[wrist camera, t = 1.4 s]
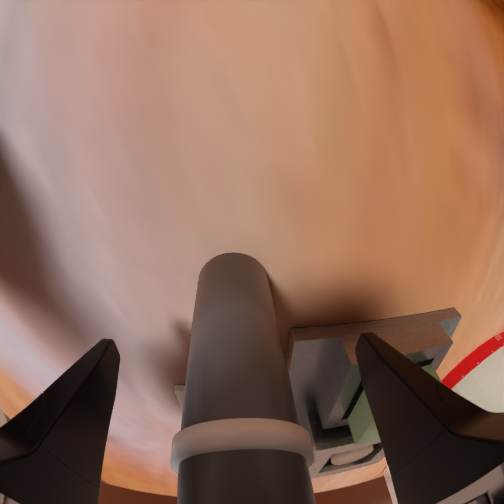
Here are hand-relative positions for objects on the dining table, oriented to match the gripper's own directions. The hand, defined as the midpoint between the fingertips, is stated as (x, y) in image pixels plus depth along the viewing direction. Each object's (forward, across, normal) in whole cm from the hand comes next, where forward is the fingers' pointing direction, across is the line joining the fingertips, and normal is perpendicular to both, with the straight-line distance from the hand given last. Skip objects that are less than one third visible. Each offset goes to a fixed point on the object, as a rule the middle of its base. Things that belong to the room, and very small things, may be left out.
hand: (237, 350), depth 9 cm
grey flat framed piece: (+4, -9, +11) cm, 15 cm away
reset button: (+2, -9, +15) cm, 18 cm away
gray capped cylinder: (+4, 0, 0) cm, 4 cm away
